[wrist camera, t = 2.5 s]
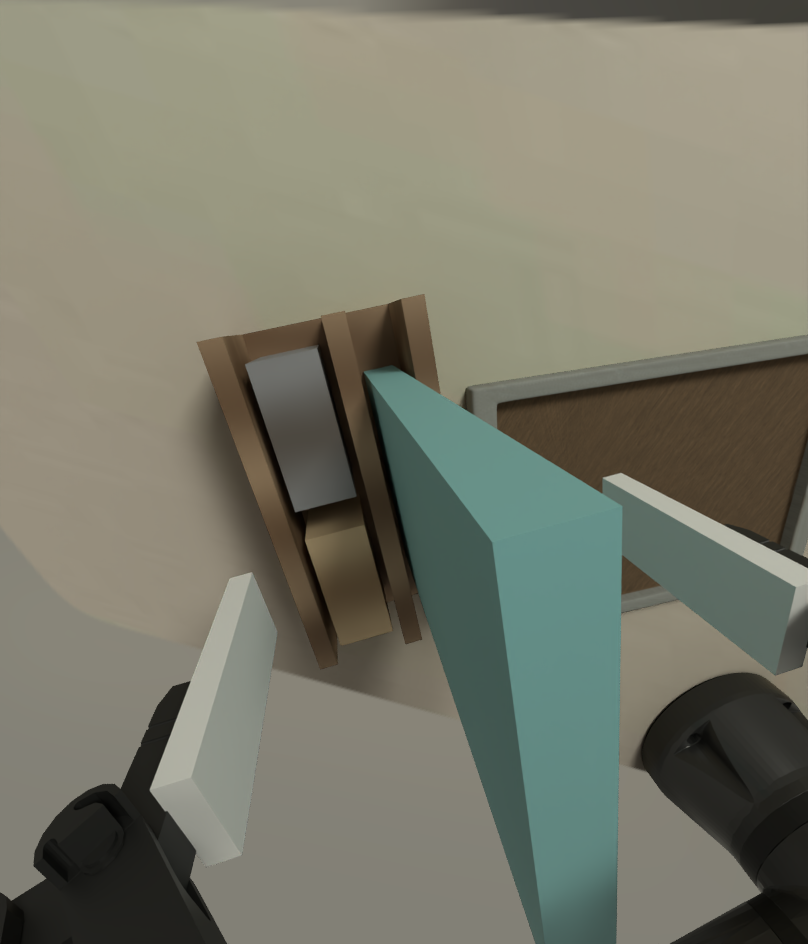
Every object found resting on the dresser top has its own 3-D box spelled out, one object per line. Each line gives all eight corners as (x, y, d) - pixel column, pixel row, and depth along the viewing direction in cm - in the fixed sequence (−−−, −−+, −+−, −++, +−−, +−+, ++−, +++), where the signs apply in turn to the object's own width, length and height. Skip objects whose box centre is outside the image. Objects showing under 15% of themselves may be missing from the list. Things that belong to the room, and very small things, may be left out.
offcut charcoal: (352, 469, 23) (356, 496, 19) (300, 481, 23) (295, 512, 19) (319, 344, 20) (316, 348, 16) (260, 357, 20) (244, 364, 16)
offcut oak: (383, 587, 26) (392, 631, 22) (339, 600, 26) (340, 646, 22) (358, 493, 23) (364, 525, 20) (308, 506, 23) (304, 540, 19)
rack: (452, 573, 28) (477, 622, 23) (321, 610, 27) (320, 669, 22) (403, 301, 21) (424, 294, 17) (226, 338, 20) (196, 342, 16)
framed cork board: (470, 389, 22) (905, 322, 26) (462, 385, 24) (874, 322, 28) (485, 646, 29) (826, 565, 33) (477, 630, 31) (805, 555, 35)
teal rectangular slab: (430, 551, 26) (615, 964, 9) (406, 557, 26) (551, 990, 9) (392, 365, 21) (623, 506, 5) (363, 371, 21) (492, 542, 4)
